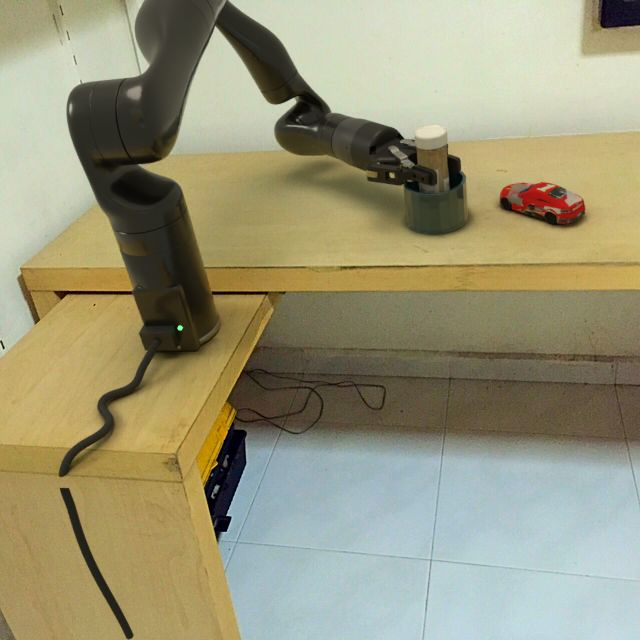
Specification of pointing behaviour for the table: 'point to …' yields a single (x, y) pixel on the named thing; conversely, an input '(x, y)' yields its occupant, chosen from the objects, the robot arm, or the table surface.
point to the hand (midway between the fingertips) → (447, 172)
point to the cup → (437, 206)
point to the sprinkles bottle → (433, 156)
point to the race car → (543, 201)
